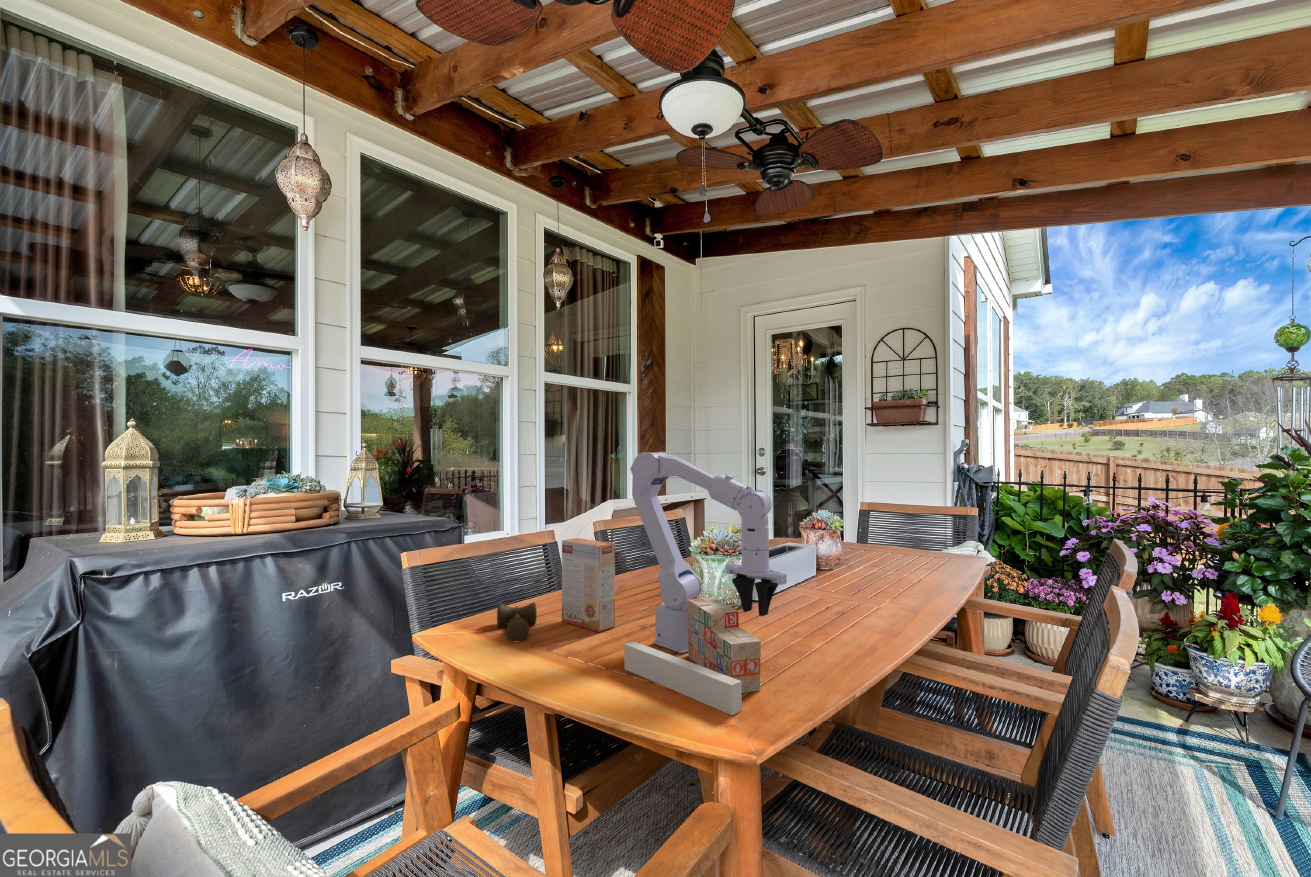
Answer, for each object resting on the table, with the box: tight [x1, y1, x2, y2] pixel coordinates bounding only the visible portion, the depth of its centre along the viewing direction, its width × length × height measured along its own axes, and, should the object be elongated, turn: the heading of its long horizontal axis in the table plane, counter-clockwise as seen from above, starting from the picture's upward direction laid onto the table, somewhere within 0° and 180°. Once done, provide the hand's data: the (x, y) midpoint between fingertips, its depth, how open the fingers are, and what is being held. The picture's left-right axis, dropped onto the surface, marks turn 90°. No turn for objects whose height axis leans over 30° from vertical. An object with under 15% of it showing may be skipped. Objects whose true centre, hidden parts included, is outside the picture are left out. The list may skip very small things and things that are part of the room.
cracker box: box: [561, 537, 616, 633], centre depth 149 cm, size 14×6×21 cm, turn 48°
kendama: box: [496, 601, 538, 642], centre depth 145 cm, size 6×10×20 cm
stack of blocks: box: [687, 596, 762, 694], centre depth 118 cm, size 21×6×12 cm, turn 18°
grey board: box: [623, 640, 743, 716], centre depth 110 cm, size 28×2×5 cm, turn 43°
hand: (755, 612), depth 126 cm, fingers open, 4 cm apart
